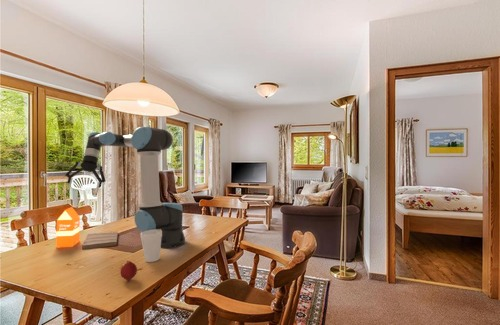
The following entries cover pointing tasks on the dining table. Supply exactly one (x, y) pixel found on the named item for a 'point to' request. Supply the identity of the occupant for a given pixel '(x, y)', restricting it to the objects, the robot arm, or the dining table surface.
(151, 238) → the foam cup
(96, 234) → the walnut board
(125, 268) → the onion
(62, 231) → the orange juice
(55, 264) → the dining table surface
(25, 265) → the dining table surface
